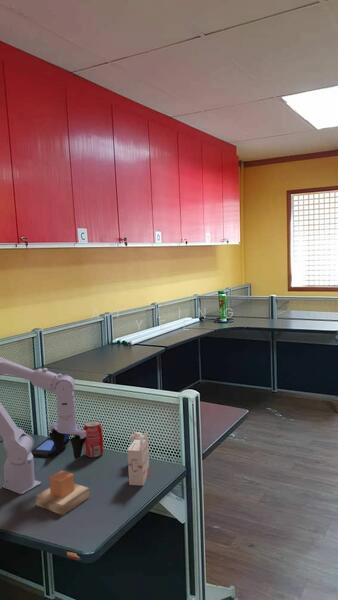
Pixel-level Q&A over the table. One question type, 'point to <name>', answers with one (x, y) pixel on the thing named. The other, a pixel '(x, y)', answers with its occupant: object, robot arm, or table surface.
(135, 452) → the ink cartridge box
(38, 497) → the birch block
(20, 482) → the robot arm
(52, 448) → the handheld game console
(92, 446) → the soda can
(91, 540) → the table surface
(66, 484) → the orange cube
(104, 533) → the table surface
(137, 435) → the white figurine
